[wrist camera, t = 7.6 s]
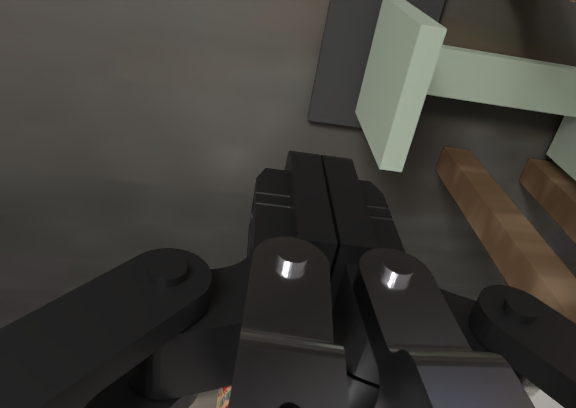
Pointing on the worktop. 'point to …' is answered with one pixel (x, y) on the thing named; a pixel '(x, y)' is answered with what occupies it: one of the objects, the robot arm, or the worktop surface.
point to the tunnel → (517, 223)
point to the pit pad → (349, 57)
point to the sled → (451, 84)
